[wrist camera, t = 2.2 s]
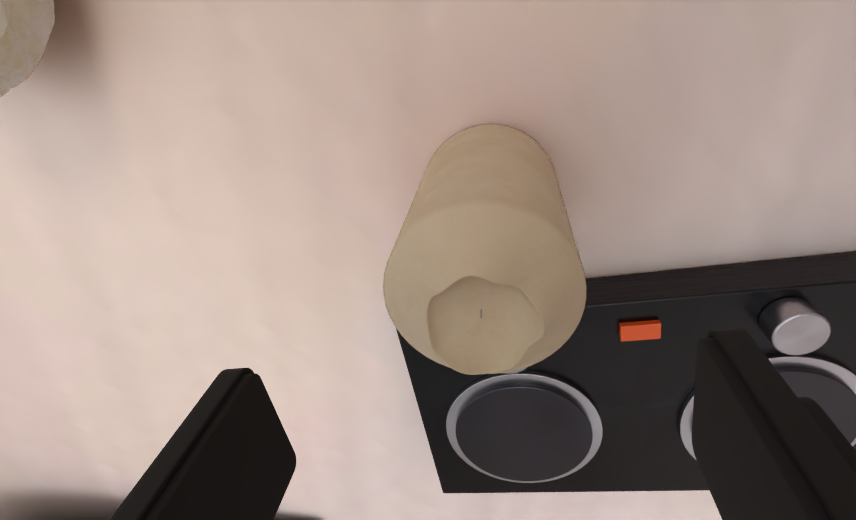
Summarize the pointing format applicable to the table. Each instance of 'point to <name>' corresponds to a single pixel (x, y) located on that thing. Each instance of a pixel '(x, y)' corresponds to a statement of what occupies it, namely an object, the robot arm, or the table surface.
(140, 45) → the table surface
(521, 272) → the candle
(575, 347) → the hot plate
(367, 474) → the table surface
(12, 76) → the cream lumpy piece
